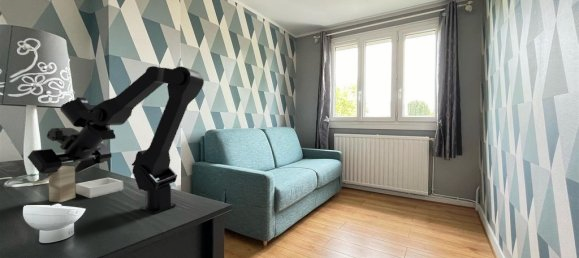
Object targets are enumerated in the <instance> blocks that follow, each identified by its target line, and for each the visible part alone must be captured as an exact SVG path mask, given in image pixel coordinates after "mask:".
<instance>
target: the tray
mask: <svg viewBox="0 0 579 258" xmlns="http://www.w3.org/2000/svg"><path fill="white" fill-rule="evenodd" d="M121 191H124V181H123V180H120V179H116V178H111V177H105V178H99V179H94V180H89V181H84V182H78V183H75V194H77V195H80V196H82V197H83V196H84V197H86V198H90V199H92V198H96V197H101V196H105V195H107V194H113V193H117V192H121Z"/></svg>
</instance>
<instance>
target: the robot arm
mask: <svg viewBox="0 0 579 258" xmlns="http://www.w3.org/2000/svg"><path fill="white" fill-rule="evenodd" d="M164 84H167V86H166V88H167V93H168V98H167V101H166V104H165V107H164V109H163V112H162V115H161V117H160V120H159V122H158V124H157V127H156V129H155V132H154V134H153V137H152V139H151V141H150V145H149V147H148V148H147V149H145V150H139V151H137V152H136V155H135V160H134V161H133V162H132V163H131V166H133V167H132V174H133V177H134V179H135V183H136V185H137V188H138V190H139V191H140V190H142V191H143V192H144V193H145V196H144V197H145V205H143V206H140V207H139V209H140V210H141V211H145V212H147V213H150V214H158V213H161V212H163V211H165V210H170V209H172V208H175V207H177V204H176V203H174V202H172V185H170V184H172V183H176V181H177V177H178V174H177V173H176V172H175V171H174V170H173V169H172V168H171V166H170V163H171V156H170V150H171V147H172V145H173V143H174V140H175V137H176V135H177V134H178V133H177V132H178V130H179V128H180V125H181V123H182V121H183V118H184V115H185V113H186V110H187V109H188V106H189V104H191V102H193V101H194V100H195V98H196V97H197V96H198V95H199V93H200V92H201V90H202V88H203V87H204V84H205V81H204V78H203V76H202V74H201V73H200V72H198V71H197V70H193V69H190V68H188V67H186V66H185V67H184V66H176V67H174V68H170V67H169V68H168V67H159V66H156V65H152V66H148V67H147V68H146V70H145V72H143V74H142V75H140V76H139V77H138V78H137V79H136V80H134V81H133V82H132V83H131V84H129V85H128V86H127V87H126V88H124V90H122V91H121V92H119V94H117V95H116V96H114V97H112V98H108V99H105V100H103V101H101V102H99V103H98V104H96V105H94V106H92V105H91V104H90V103H89V101H88V100H87V98H86V97H81V96H80V97H79V96H78V97H75V99H73V100H70V101H69V100H68V101H67V102H66V103H63V104H62V105H61V106H60V107H59V108H60V110H59V111H60V112H61V113H62V115H64V116H65V117H66V119H67V120H68V121H69V122H70V123H71V125H72V126H73V127H75V128H82V129H80V131H79V130H77V129H75V128H73V127H55V128H54V127H52V128H50V129H49V130H48V132H47V134H46V138H47V139H49V140H50V141H52V142H57V143H58V144H60V145H59V148H60V149H61V150H62V151H63V150H64V152H63V153H59V154H57V153H56V152H55V151H54V150H53V148H43V149H35V150H31V152H30V153H29V154H28V156H27V159H28V161H30V163H32V165H33V167H34V168H35V169H36V170H37V172H38V179H39V181H44V180H46V179H47V178H49V176H51V175H52V174H54V173H56V172H58V169H60V167H61V166H63V164H65V163H70V162H74V163H78V162H79V163H78V165H77V166H75V174H76V173H81V172H83V171H85V170H87V169H89V168H90V169H91V168H92V167H95V166H98V165H100V164H104V163H105V162H109V161H110V160H111V158H112V157H113V155H112V152H111V151H110V150H109V148H108V147H107V146H106V145H105V143H103V142H104V141H107V140H115V139H116V134H115V130H114V129H112V128H110V126H122V125H124V124H125V123H126V122H127V120H129V118H130V117H131V116H132V112H133V110H134V109H135V107H137V106H138V105H139V104H140V103H142V102H143V101H144V100H145V99H146V98H148V97H149V96H150V95H151V94H152V93H154V92H155V91H156V90H157V89H159V88H160V87H161V86H162V85H164Z"/></svg>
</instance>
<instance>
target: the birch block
mask: <svg viewBox="0 0 579 258" xmlns="http://www.w3.org/2000/svg"><path fill="white" fill-rule="evenodd" d="M75 169H76V166H73V165H72V166H71V165H62V166H61V167H60V169H58V172H56V173H54V174H52V175H51V176H49V177H48V197H49V198H48V199H49V201H48V202H53V203H62V202H66V201H69V200H73V199H75V198H76V176H75V175H76V171H75Z"/></svg>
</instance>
